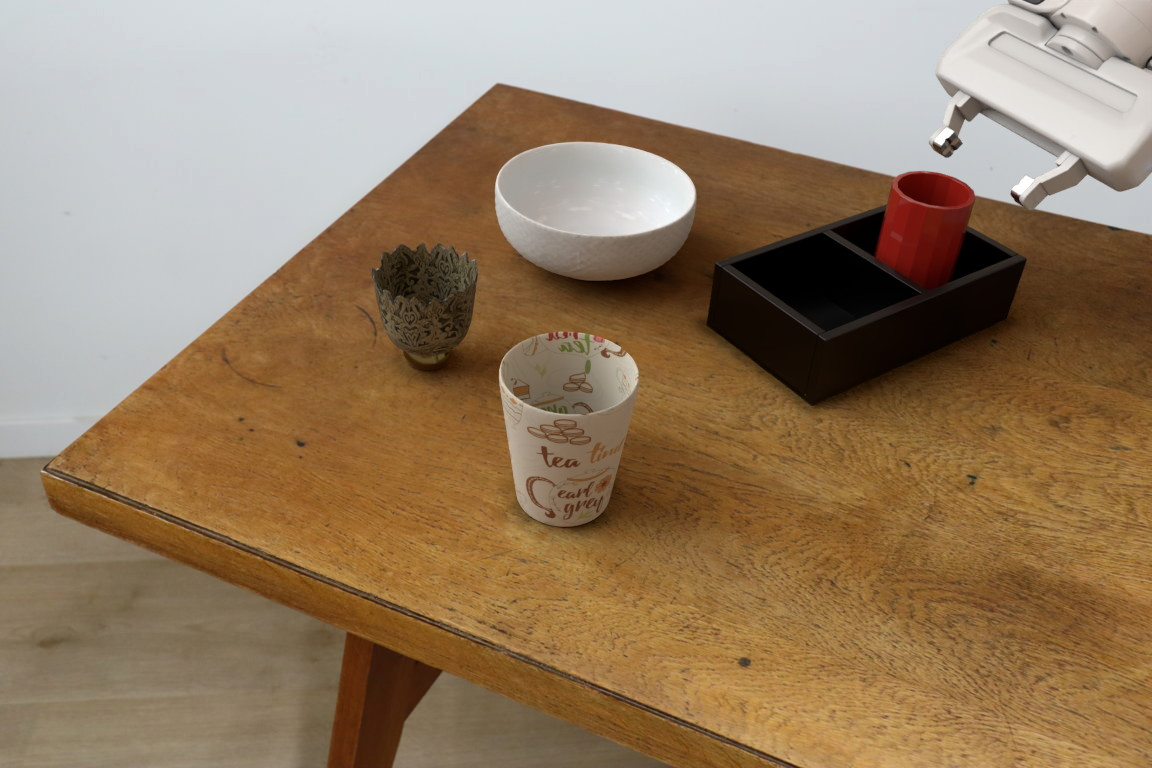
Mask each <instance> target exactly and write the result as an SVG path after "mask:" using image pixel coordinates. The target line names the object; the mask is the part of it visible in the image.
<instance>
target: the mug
mask: <svg viewBox="0 0 1152 768" xmlns="http://www.w3.org/2000/svg"><path fill="white" fill-rule="evenodd" d="M640 378H641V377H640V372H639V367H638V365H637V363H636V361H635V360H634V358H633V357H632V356H631V354H629V353H628V352H627V351H626V350H625V349H624V348H622V347H621V346H620V345H618V344H616V343H615V342H612V341H610V340H608V339H607V338H603V337H601V336H597V335H594V334H590V333H584V332H577V331H553V332H548V333H542V334H538V335H534V336H532V337H528V338H527V339H525V340H522V341H520V342H519V343H517V344H516V345H514V346H513V347H511V348H510V349H509V350H508V351H507V352H506V353H505V355H504V356H503V358H502V360H501V363H500V366H499V369H498V380H499V381H498V382H499V383H498V384H499V392H500V398H501V405H502V410H503V417H504V424H505V431H506V437H507V443H508V449H509V456H510V462H511V468H512V476H513V483H514V489H515V493H516V498H517V502H518V503H519V506H520V507H521V508H522V510H523V511H524V512H525V513H526V514H527V515H528V516H529V517H531V518H532V519H534V520H535V521H537V522H540V523H543V524H544V525H547V526H554V527H561V528H562V527H563V528H564V527H567V528H568V527H569V528H570V527H576V526H581V525H584V524H587V523H589V522H591V521H593V520H595V519H596V518H598V517H599V516H600V515H602V513H604V511H605V510H606V508H607V507H608V505H609V502H610V498H611V496H612V492H613V488H614V484H615V480H616V477H617V473H618V470H619V469H618V468H619V465H620V461H621V457H622V454H623V450H624V447H625V442H626V439H627V435H628V431H629V427H630V424H631V421H632V416H633V412H634V408H635V405H636V401H637V397H638V393H639V388H640Z"/></svg>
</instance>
